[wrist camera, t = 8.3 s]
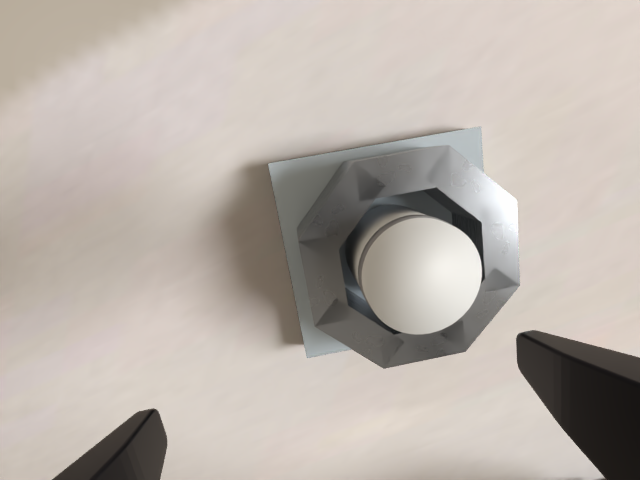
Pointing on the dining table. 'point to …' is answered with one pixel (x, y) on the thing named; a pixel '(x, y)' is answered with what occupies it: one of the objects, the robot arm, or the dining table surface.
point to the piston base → (310, 186)
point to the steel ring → (467, 215)
